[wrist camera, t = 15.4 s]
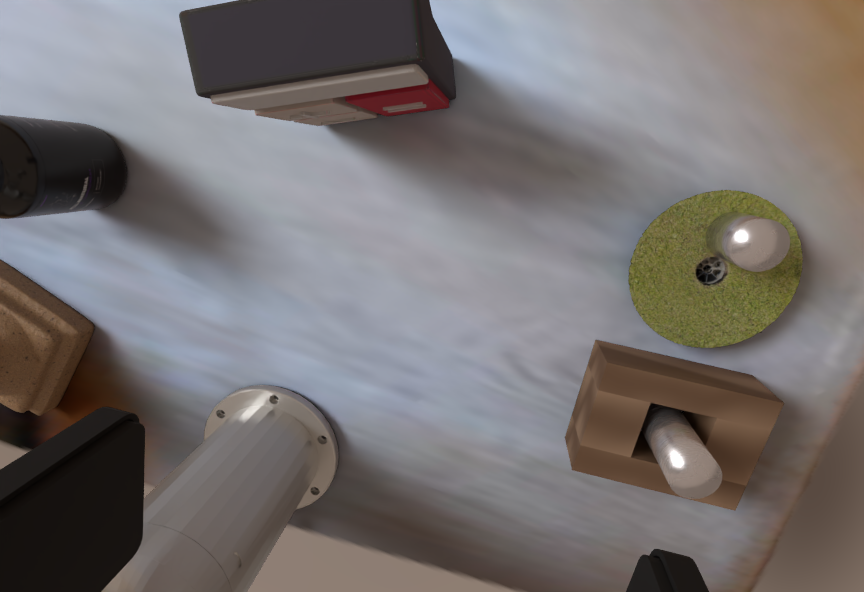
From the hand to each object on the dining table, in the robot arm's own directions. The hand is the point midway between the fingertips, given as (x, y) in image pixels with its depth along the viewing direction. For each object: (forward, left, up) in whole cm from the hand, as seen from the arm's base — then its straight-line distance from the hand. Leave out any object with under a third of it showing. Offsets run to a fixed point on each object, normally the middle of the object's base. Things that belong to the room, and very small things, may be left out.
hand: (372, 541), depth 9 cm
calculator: (+10, +9, -31) cm, 33 cm away
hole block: (-10, -17, -30) cm, 36 cm away
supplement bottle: (0, +32, -31) cm, 44 cm away
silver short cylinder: (+5, -17, -28) cm, 33 cm away
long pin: (-10, -17, -30) cm, 36 cm away
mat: (+2, -17, -31) cm, 35 cm away
